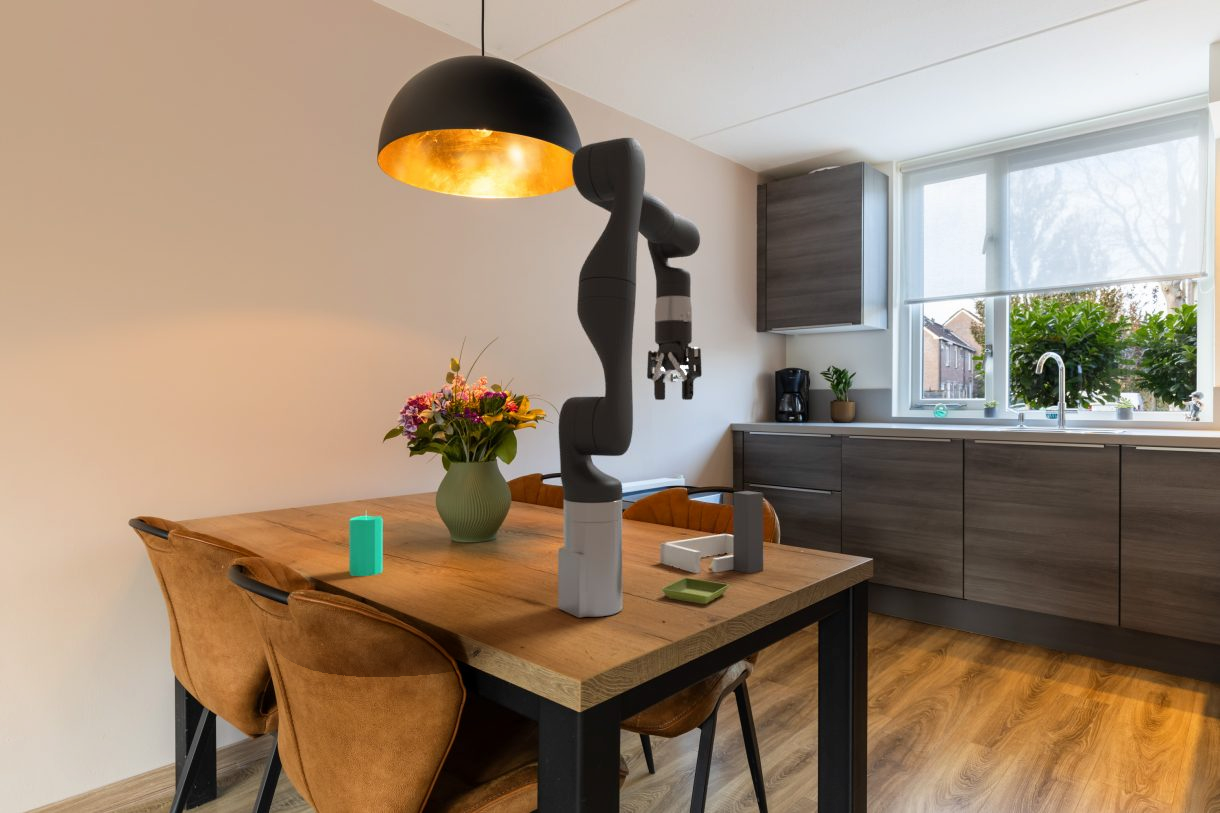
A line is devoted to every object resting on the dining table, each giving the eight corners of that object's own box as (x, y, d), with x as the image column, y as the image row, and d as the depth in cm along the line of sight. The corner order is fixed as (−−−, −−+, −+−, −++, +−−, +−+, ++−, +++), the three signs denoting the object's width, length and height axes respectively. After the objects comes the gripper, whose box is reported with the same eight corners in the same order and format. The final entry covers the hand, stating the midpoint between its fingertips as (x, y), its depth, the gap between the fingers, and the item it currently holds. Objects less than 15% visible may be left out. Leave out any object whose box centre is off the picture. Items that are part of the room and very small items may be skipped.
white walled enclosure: (695, 573, 131) (695, 552, 131) (660, 563, 140) (660, 543, 140) (762, 560, 142) (762, 541, 142) (725, 551, 150) (725, 533, 150)
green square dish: (708, 609, 109) (708, 596, 109) (660, 600, 114) (660, 588, 114) (730, 596, 117) (730, 584, 117) (684, 588, 121) (684, 577, 121)
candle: (372, 576, 129) (372, 512, 129) (343, 575, 130) (343, 511, 130) (388, 569, 135) (388, 507, 135) (359, 568, 136) (359, 507, 136)
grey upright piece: (731, 576, 129) (731, 496, 129) (712, 571, 133) (712, 493, 133) (779, 567, 136) (779, 491, 136) (760, 562, 140) (760, 488, 140)
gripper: (637, 322, 145) (637, 400, 145) (682, 315, 133) (682, 399, 133) (665, 325, 149) (665, 400, 149) (711, 318, 138) (711, 399, 138)
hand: (673, 399), depth 141 cm, fingers open, 8 cm apart
